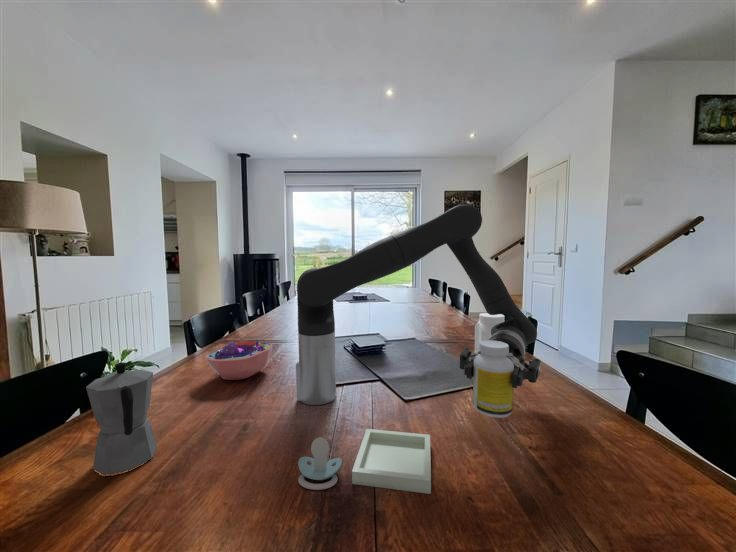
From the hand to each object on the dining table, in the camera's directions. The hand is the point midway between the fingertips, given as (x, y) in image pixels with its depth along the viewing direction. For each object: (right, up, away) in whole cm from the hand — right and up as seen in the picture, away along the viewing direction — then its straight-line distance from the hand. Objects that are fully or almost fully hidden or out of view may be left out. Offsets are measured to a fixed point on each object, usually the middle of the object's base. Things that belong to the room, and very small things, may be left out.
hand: (491, 377), depth 52 cm
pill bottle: (+1, -7, +2) cm, 7 cm away
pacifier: (-28, -17, 0) cm, 33 cm away
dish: (-16, -16, +3) cm, 23 cm away
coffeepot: (-63, -17, +4) cm, 66 cm away
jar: (+23, -12, +59) cm, 65 cm away
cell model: (-59, -14, +44) cm, 75 cm away
